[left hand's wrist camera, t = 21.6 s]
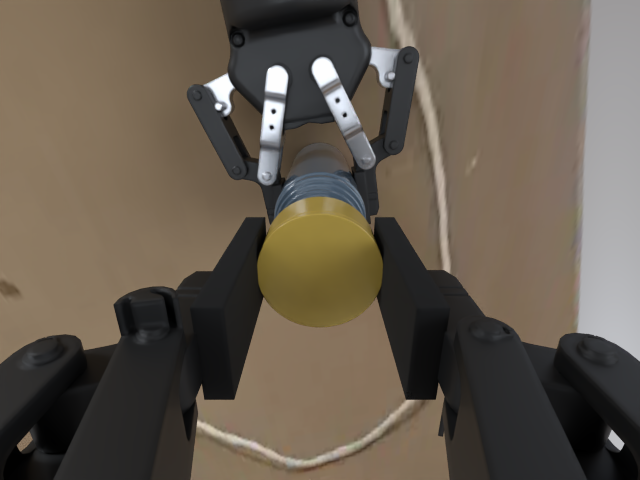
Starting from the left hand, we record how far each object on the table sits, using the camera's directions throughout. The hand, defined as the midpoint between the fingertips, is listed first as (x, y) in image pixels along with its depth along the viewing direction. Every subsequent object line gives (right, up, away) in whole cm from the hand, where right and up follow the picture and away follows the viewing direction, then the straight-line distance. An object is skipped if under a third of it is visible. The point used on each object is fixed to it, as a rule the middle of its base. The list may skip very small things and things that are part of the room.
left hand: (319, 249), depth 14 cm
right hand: (0, +1, +10) cm, 11 cm away
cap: (0, -1, -2) cm, 2 cm away
